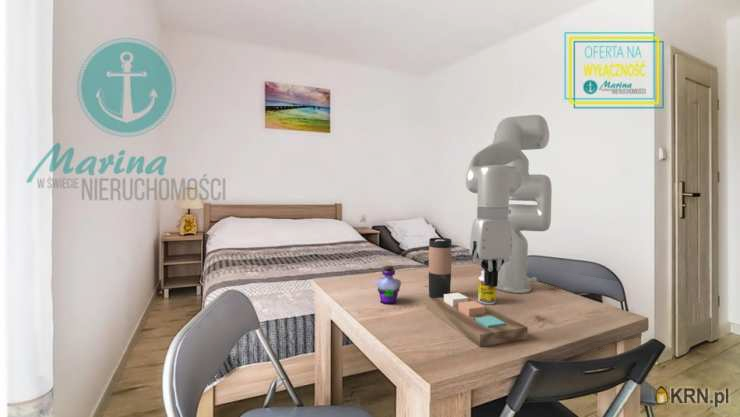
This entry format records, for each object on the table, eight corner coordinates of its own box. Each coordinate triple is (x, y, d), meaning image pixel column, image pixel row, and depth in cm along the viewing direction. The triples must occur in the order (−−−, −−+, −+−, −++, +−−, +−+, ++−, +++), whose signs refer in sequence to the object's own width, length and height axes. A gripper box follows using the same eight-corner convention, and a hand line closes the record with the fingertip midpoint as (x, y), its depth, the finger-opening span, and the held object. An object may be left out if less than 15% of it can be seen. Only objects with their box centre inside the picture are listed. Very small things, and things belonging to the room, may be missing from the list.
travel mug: (449, 293, 123) (450, 237, 121) (452, 300, 115) (453, 241, 114) (427, 292, 123) (428, 237, 122) (429, 299, 116) (429, 240, 114)
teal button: (491, 326, 92) (491, 315, 92) (504, 334, 87) (505, 323, 87) (474, 329, 90) (475, 317, 90) (487, 337, 85) (487, 325, 85)
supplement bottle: (477, 303, 112) (478, 272, 111) (477, 298, 117) (478, 269, 116) (496, 305, 110) (497, 274, 109) (495, 300, 115) (496, 270, 115)
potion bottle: (381, 307, 108) (381, 270, 107) (371, 299, 116) (371, 264, 115) (406, 304, 111) (406, 267, 110) (394, 296, 119) (394, 262, 118)
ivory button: (458, 302, 107) (458, 292, 107) (468, 307, 102) (468, 297, 102) (443, 303, 105) (443, 294, 105) (452, 309, 101) (453, 299, 100)
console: (465, 304, 111) (465, 294, 111) (527, 338, 86) (527, 327, 86) (426, 308, 107) (426, 299, 107) (479, 346, 81) (480, 334, 81)
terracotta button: (473, 310, 100) (473, 300, 99) (485, 317, 95) (485, 306, 94) (458, 312, 98) (458, 302, 98) (468, 319, 93) (469, 308, 93)
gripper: (506, 212, 93) (504, 279, 94) (458, 213, 88) (457, 284, 89) (527, 214, 86) (525, 286, 87) (476, 216, 81) (474, 292, 82)
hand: (490, 285), depth 88 cm, fingers closed
